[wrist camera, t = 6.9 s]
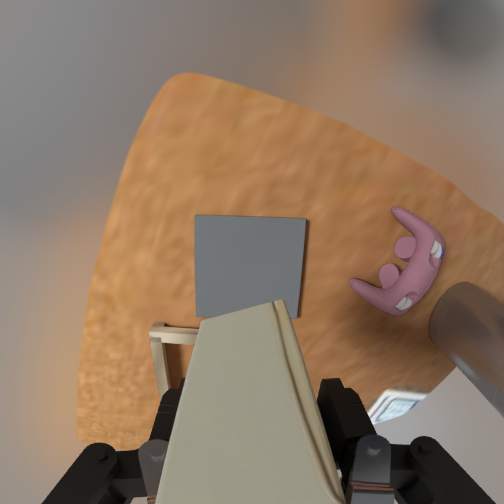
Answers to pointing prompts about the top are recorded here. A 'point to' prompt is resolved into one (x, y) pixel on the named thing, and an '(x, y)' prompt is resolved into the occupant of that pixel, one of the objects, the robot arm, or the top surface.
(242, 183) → the top surface
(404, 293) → the video game controller
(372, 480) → the robot arm
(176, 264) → the top surface
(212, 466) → the skincare box
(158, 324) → the wooden rectangular frame
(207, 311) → the coaster
